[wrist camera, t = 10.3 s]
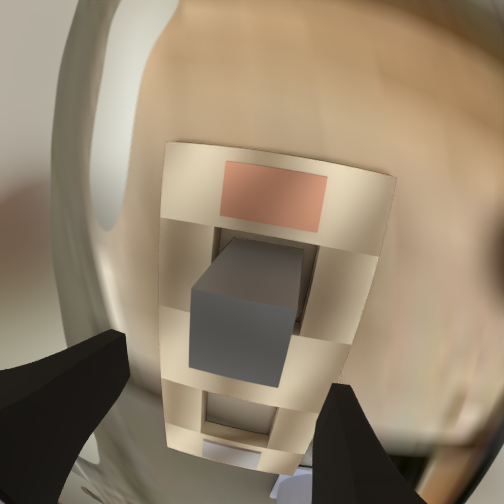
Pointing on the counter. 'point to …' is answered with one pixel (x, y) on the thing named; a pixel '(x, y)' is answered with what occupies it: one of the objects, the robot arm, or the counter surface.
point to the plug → (245, 311)
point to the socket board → (317, 301)
